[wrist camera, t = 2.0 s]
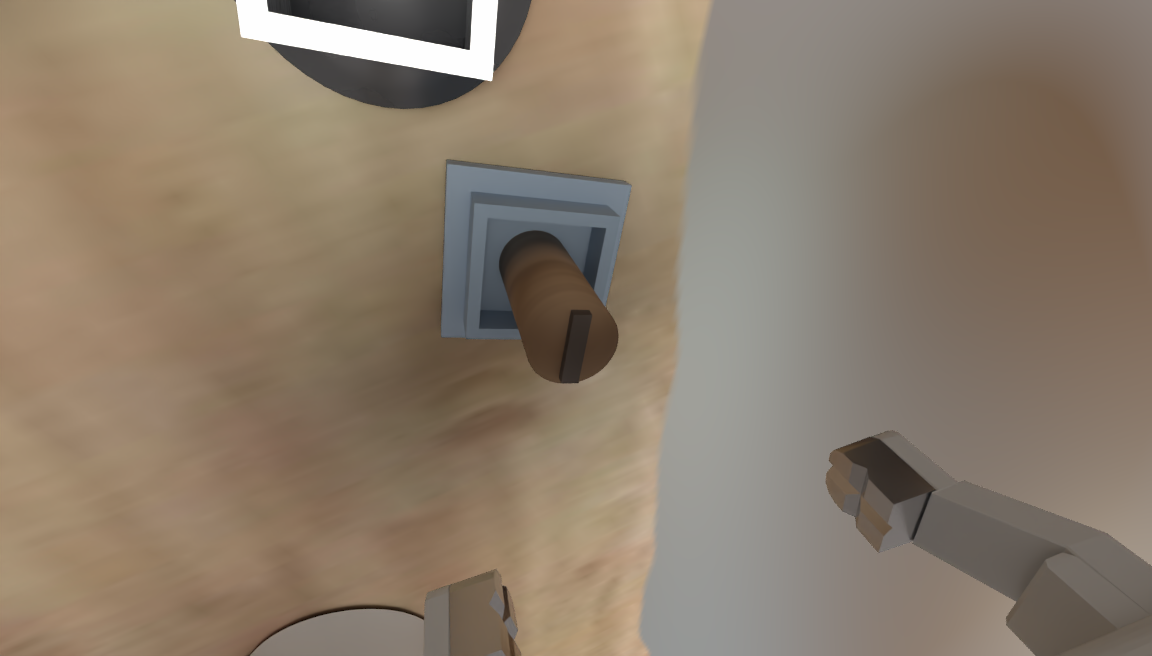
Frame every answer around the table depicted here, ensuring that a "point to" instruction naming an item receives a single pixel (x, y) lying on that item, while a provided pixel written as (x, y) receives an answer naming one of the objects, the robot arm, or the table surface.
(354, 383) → the table surface
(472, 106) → the table surface
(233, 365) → the table surface
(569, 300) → the peg
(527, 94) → the table surface
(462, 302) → the stand
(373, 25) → the hub
